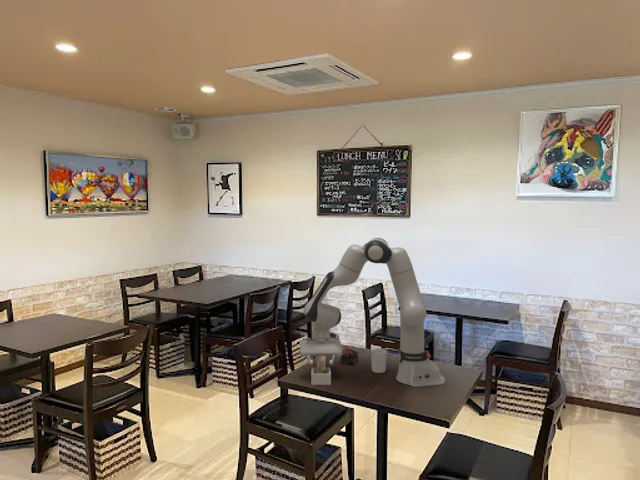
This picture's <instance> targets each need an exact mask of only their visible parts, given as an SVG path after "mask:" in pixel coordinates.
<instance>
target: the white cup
mask: <svg viewBox="0 0 640 480" xmlns="http://www.w3.org/2000/svg"><path fill="white" fill-rule="evenodd" d="M387 355H388V350H386V349H383V348H374V349H371V350H370V360H371V362H370V363H371V371H372V372H373V373H377V374H382V373H385V372H386V369H387V367H386V366H387Z"/></svg>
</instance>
